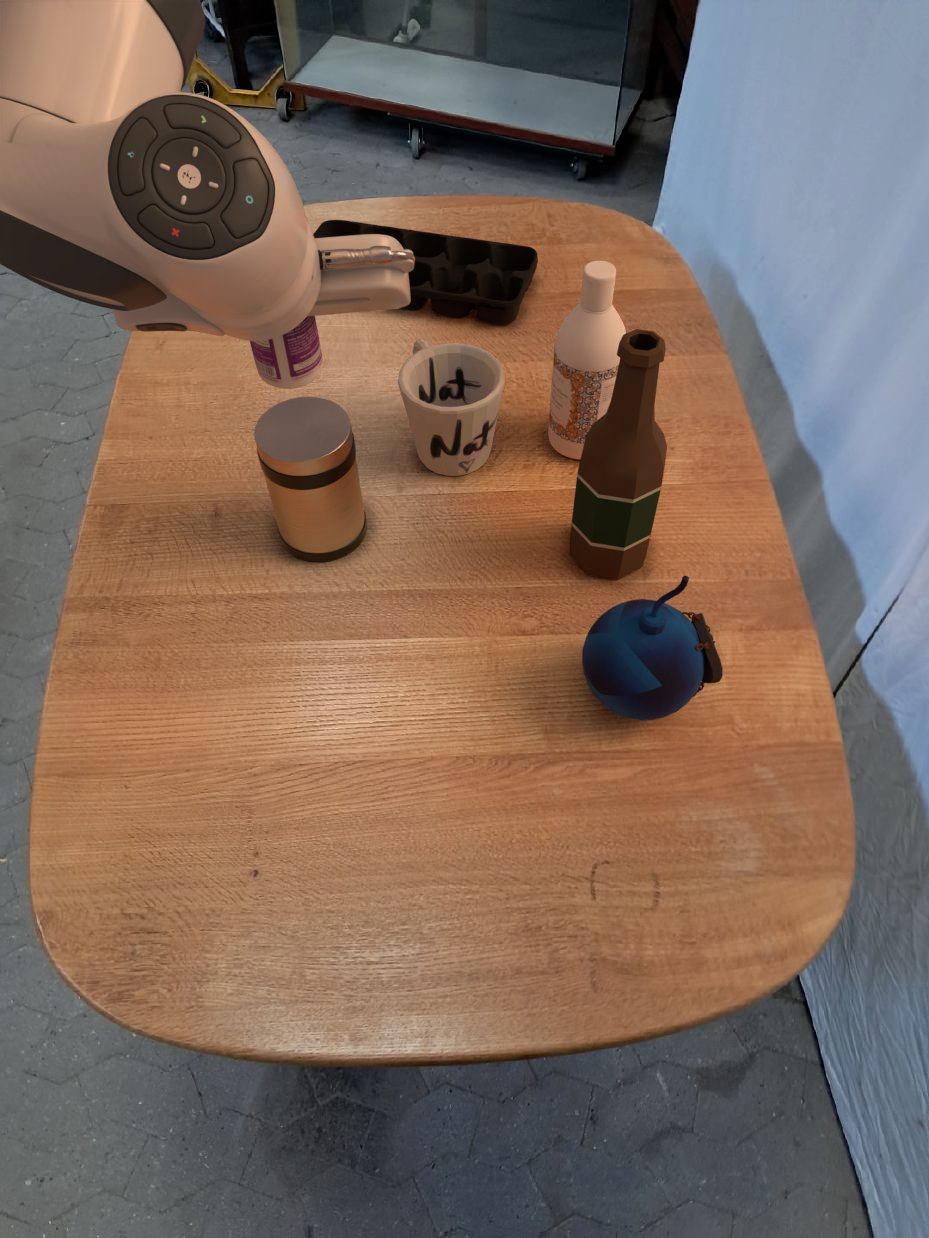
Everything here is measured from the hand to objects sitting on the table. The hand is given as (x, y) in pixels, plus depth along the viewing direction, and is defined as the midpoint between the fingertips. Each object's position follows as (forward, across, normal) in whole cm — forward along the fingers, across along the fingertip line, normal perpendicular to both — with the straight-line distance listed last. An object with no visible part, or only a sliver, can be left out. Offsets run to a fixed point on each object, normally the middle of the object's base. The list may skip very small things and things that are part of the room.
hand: (278, 308), depth 70 cm
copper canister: (+17, 0, +18) cm, 25 cm away
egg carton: (+46, -12, -10) cm, 48 cm away
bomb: (+2, -27, +34) cm, 43 cm away
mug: (+25, -13, +10) cm, 30 cm away
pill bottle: (+4, 0, +4) cm, 6 cm away
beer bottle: (+13, -27, +22) cm, 37 cm away
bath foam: (+24, -27, +11) cm, 38 cm away
